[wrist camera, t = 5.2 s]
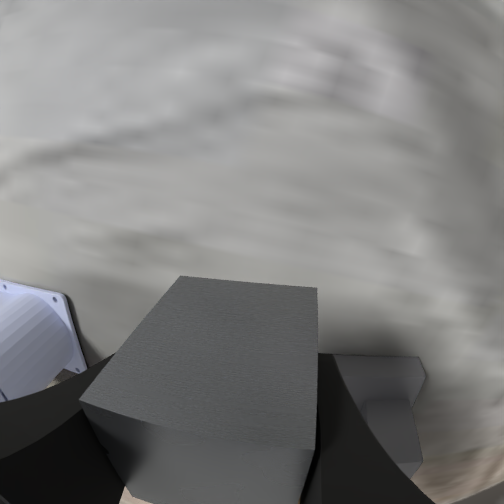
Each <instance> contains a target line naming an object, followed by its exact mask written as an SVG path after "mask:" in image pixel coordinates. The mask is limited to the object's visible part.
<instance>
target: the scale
mask: <svg viewBox="0 0 504 504" xmlns="http://www.w3.org/2000/svg"><path fill="white" fill-rule="evenodd" d="M332 355H333V356H334V357H335V360H336V363H337V365H338V368H339V371H340V373H341V375H342V378H343V380H344V382H345V384H346V386H347V388H348V390H349V393H350V394H351V396H352V398H353V400H354V402H355V404H356V406H357V408H358V409H359V411H360V413H361V415H362V416H363V418H364V420H365V421H366V423H367V425H368V426H369V428H370V429H371V431H372V432H373V434H374V435H375V437H376V438H377V440H378V441H379V443H380V444H381V445H382V447H383V448H384V449H385V451H386V452H387V453H388V455H389V456H390V457H391V458H392V460H393V461H394V462H395V463H396V465H397V466H398V467H399V468H400V469H401V470H402V471H403V472H404V474H405V475H406V476H407V477H408V478H409V479H411V477H412V476H413V475H414V473H415V472H416V471H417V469H418V468H419V467H420V465H421V464H422V462H423V457H422V452H421V448H420V443H419V439H418V434H417V430H416V425H415V421H414V417H413V413H412V407H413V405H414V403H415V400H416V398H417V396H418V394H419V392H420V389H421V387H422V385H423V383H424V380H425V378H426V376H425V373H424V370H423V367H422V365H421V362H420V359H419V357H382V356H354V355H335V354H332Z"/></svg>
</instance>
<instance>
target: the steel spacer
mask: <svg viewBox="0 0 504 504" xmlns="http://www.w3.org/2000/svg"><path fill="white" fill-rule="evenodd" d="M317 374H318V304H317V288H313V287H300V286H287V285H275V284H263V283H251V282H240V281H229V280H219V279H208V278H198V277H188V276H180V277H179V278H178V279H177V280H176V282H175V283H174V284H173V285H172V286H171V287H170V289H169V290H168V291H167V292H166V293H165V294H164V296H163V297H162V298H161V299H160V300H159V301H158V303H157V304H156V305H155V306H154V307H153V309H152V310H151V311H150V312H149V313H148V315H147V316H146V317H145V318H144V319H143V321H142V322H141V323H140V324H139V325H138V327H137V328H136V329H135V330H134V331H133V333H132V334H131V335H130V336H129V337H128V339H127V340H126V341H125V342H124V344H123V345H122V346H121V347H120V348H119V350H118V351H117V352H116V353H115V355H114V356H113V357H112V358H111V360H110V361H109V362H108V363H107V365H106V366H105V367H104V368H103V369H102V371H101V372H100V373H99V374H98V376H97V377H96V378H95V380H94V381H93V382H92V383H91V385H90V386H89V387H88V388H87V390H86V391H85V392H84V393H83V395H82V396H81V397H80V399H79V401H80V404H81V406H82V408H83V410H84V412H85V414H86V416H87V418H88V420H89V422H90V424H91V426H92V428H93V430H94V432H95V434H96V436H97V438H98V440H99V442H100V444H101V446H102V447H103V449H104V451H105V453H106V454H107V456H108V458H109V460H110V461H111V463H112V465H113V467H114V468H115V470H116V472H117V473H118V475H119V476H120V478H121V480H122V481H123V483H124V484H125V486H126V487H127V489H128V491H129V492H130V494H131V495H132V497H135V498H138V499H141V500H144V501H147V502H150V503H153V504H298V501H299V498H300V495H301V492H302V489H303V486H304V483H305V480H306V477H307V474H308V471H309V467H310V464H311V461H312V457H313V454H314V451H315V436H316V412H317Z"/></svg>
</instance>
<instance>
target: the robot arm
mask: <svg viewBox="0 0 504 504" xmlns="http://www.w3.org/2000/svg"><path fill="white" fill-rule="evenodd" d="M114 355H115V353H114V354H112V355H111V356H109V357H107V358H106V359H104V360H103V361H101V362H99V363H98V364H96V365H94V366H92V367H90V368H87V366H86V363H85V360H84V357H83V354H82V351H81V348H80V345H79V341H78V338H77V335H76V332H75V328H74V325H73V321H72V318H71V314H70V310H69V307H68V303H67V299H66V297H65V296H64V295H63V294H61V293H58V292H53V291H48V290H44V289H39V288H35V287H31V286H26V285H22V284H18V283H14V282H10V281H6V280H2V279H0V504H119V502H120V499H121V496H122V493H123V490H124V487H125V484H124V483H123V481H122V480H121V478H120V476H119V475H118V473H117V472H116V470H115V468H114V467H113V465H112V463H111V461H110V460H109V458H108V456H107V454H106V453H105V451H104V449H103V447H102V446H101V444H100V442H99V440H98V438H97V436H96V434H95V432H94V430H93V428H92V426H91V424H90V422H89V420H88V418H87V416H86V414H85V412H84V410H83V408H82V406H81V404H80V401H79V399H80V397H81V396H82V395H83V393H84V392H85V391H86V390H87V388H88V387H89V386H90V385H91V383H92V382H93V381H94V380H95V378H96V377H97V376H98V374H99V373H100V372H101V371H102V369H103V368H104V367H105V366H106V365H107V363H108V362H109V361H110V360H111V358H112V357H113V356H114ZM63 368H64V369H67V370H69V371H72V372H75V373H78V375H76V376H74V377H72V378H70V379H68V380H66V381H63V382H61V383H59V384H57V385H54V386H52V387H49V388H47V389H45V388H46V387H47V386H48V385H49V384H50V383H51V381H52V380H53V379H54V378H55V377H56V376H57V375H58V374H59V373H60V372H61V370H62V369H63ZM300 504H435V503H434V502H433V501H432V500H431V499H430V498H428V497H427V496H426V495H425V494H424V493H423V492H422V491H421V490H420V489H419V488H418V487H417V486H416V485H415V484H414V483H413V482H412V481H411V480H410V479H409V478H408V477H407V476H406V475H405V474H404V472H403V471H402V470H401V469H400V468H399V467H398V466H397V465H396V463H395V462H394V461H393V460H392V458H391V457H390V456H389V455H388V453H387V452H386V451H385V449H384V448H383V447H382V445H381V444H380V443H379V441H378V440H377V438H376V437H375V435H374V434H373V432H372V431H371V429H370V428H369V426H368V425H367V423H366V421H365V420H364V418H363V416H362V415H361V413H360V411H359V409H358V408H357V406H356V404H355V402H354V400H353V398H352V396H351V394H350V393H349V390H348V388H347V386H346V384H345V382H344V380H343V378H342V375H341V373H340V371H339V368H338V365H337V363H336V360H335V357H334V356H333V355H332V354H322V353H318V374H317V412H316V436H315V451H314V454H313V457H312V461H311V464H310V467H309V471H308V474H307V477H306V480H305V483H304V486H303V489H302V492H301V495H300Z"/></svg>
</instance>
